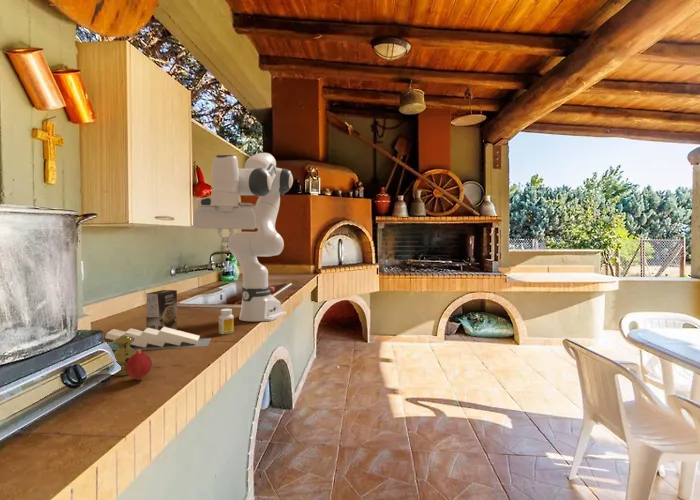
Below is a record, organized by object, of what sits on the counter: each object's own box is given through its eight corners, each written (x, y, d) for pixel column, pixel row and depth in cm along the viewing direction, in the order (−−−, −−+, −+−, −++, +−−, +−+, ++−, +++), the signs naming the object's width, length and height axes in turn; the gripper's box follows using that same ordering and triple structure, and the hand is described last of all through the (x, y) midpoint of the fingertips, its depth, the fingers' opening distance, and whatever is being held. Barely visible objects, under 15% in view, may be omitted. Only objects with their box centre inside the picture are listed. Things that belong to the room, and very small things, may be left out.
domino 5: (200, 335, 123) (163, 326, 120) (197, 340, 118) (159, 330, 115) (198, 340, 123) (162, 331, 120) (195, 344, 118) (158, 335, 115)
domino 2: (134, 339, 118) (92, 344, 115) (128, 343, 113) (85, 349, 110) (134, 343, 118) (93, 349, 115) (129, 348, 113) (85, 354, 110)
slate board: (211, 340, 126) (211, 338, 126) (207, 348, 117) (207, 345, 117) (132, 345, 120) (132, 342, 119) (122, 354, 111) (122, 351, 111)
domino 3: (168, 337, 121) (130, 328, 117) (164, 342, 115) (125, 332, 112) (166, 342, 120) (129, 332, 117) (162, 346, 115) (123, 337, 112)
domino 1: (151, 338, 119) (113, 328, 116) (147, 343, 114) (106, 333, 111) (150, 342, 119) (111, 333, 116) (145, 347, 114) (105, 337, 111)
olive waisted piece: (103, 377, 93) (102, 340, 93) (115, 367, 100) (115, 332, 100) (133, 375, 95) (133, 338, 94) (144, 365, 102) (143, 331, 101)
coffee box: (161, 337, 129) (160, 293, 128) (145, 336, 130) (145, 292, 129) (178, 331, 138) (177, 289, 137) (163, 330, 139) (163, 289, 138)
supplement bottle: (215, 336, 131) (215, 310, 131) (223, 332, 137) (223, 307, 136) (229, 337, 131) (229, 311, 130) (236, 333, 136) (236, 308, 135)
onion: (126, 377, 93) (126, 347, 93) (151, 373, 96) (151, 344, 96) (125, 386, 88) (125, 354, 88) (152, 381, 91) (151, 351, 91)
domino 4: (184, 336, 122) (147, 327, 119) (181, 341, 117) (142, 331, 114) (182, 341, 122) (146, 332, 119) (179, 345, 117) (141, 336, 114)
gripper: (256, 203, 127) (256, 242, 128) (195, 201, 122) (195, 241, 122) (256, 202, 121) (256, 242, 122) (192, 200, 116) (192, 242, 116)
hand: (225, 242), depth 122 cm, fingers closed
